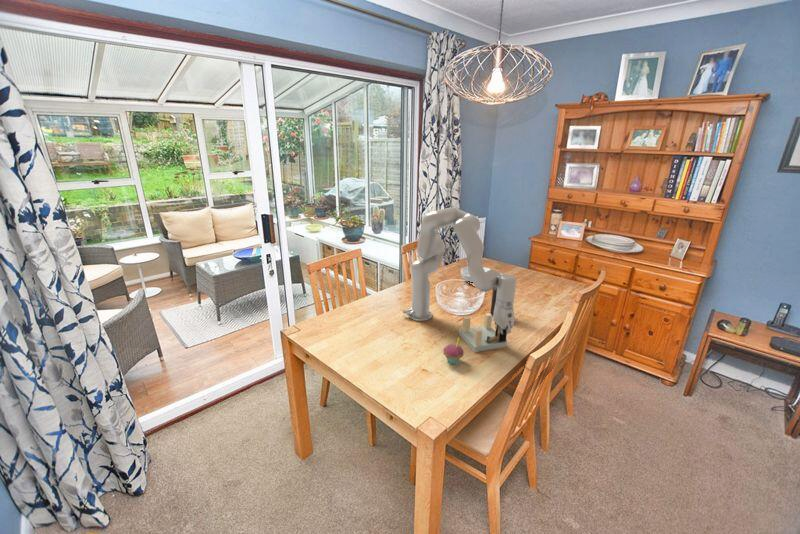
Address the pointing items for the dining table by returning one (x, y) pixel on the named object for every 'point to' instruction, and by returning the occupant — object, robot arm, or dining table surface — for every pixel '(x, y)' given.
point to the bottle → (493, 300)
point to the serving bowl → (466, 274)
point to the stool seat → (480, 335)
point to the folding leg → (495, 336)
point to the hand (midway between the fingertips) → (500, 338)
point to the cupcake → (453, 353)
